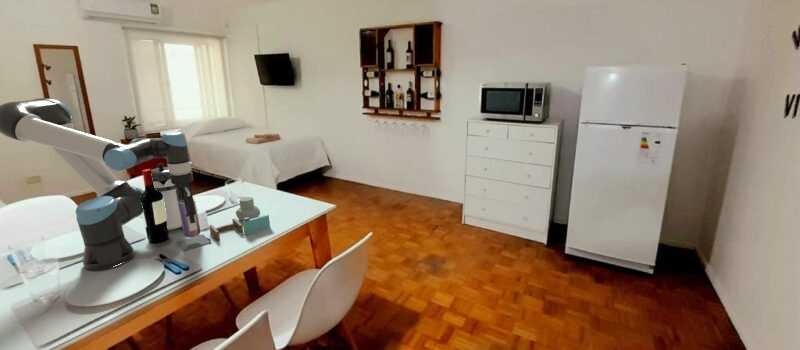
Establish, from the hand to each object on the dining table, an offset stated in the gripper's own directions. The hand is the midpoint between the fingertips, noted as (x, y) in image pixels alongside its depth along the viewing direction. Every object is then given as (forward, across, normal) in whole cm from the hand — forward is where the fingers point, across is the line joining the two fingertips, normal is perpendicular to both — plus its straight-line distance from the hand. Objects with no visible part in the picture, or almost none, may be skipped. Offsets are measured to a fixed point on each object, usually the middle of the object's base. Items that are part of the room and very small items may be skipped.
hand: (191, 227), depth 149 cm
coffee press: (+7, +23, +3) cm, 24 cm away
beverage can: (+4, 0, 0) cm, 4 cm away
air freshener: (+7, +9, -26) cm, 28 cm away
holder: (+7, -1, -13) cm, 15 cm away
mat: (+7, 0, 0) cm, 7 cm away
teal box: (+7, -6, -24) cm, 26 cm away
